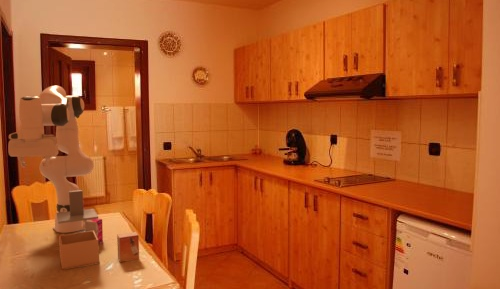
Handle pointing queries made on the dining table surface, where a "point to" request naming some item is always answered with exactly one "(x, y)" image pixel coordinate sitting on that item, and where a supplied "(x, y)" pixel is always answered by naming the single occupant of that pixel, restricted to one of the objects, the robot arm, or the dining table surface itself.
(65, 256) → the large tan box
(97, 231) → the supplement box
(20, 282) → the dining table surface
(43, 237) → the dining table surface
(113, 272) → the dining table surface
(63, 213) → the grey plate with knob
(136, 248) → the small box
